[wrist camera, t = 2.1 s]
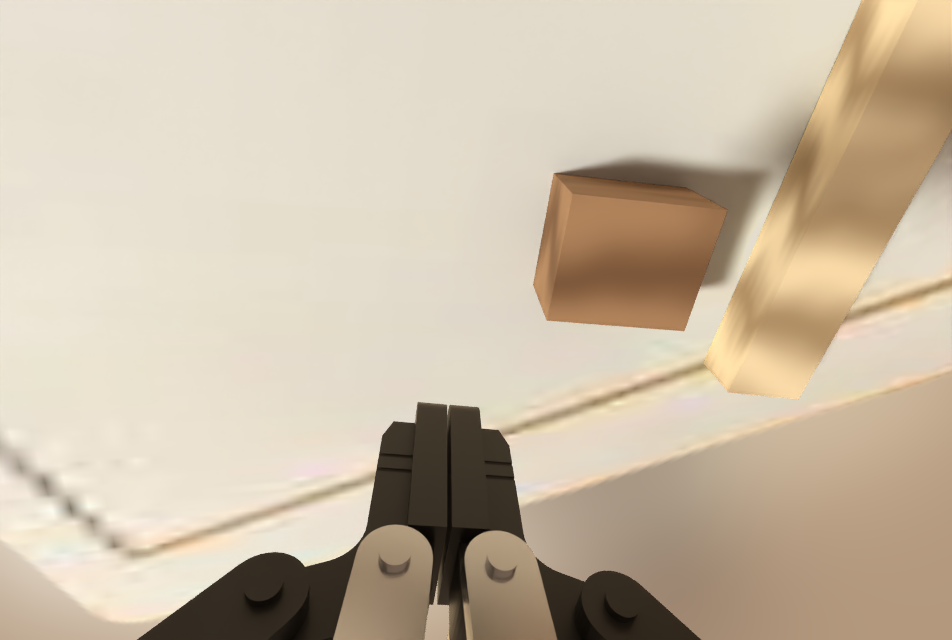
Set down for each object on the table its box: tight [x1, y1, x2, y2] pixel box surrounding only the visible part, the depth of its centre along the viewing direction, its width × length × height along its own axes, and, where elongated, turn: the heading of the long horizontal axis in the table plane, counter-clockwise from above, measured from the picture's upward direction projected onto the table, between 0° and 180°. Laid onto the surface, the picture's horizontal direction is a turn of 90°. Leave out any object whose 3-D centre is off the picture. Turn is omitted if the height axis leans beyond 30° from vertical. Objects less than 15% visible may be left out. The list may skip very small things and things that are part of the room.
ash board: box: [704, 0, 952, 399], centre depth 28 cm, size 24×5×4 cm, turn 171°
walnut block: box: [533, 174, 727, 331], centre depth 28 cm, size 7×8×5 cm
